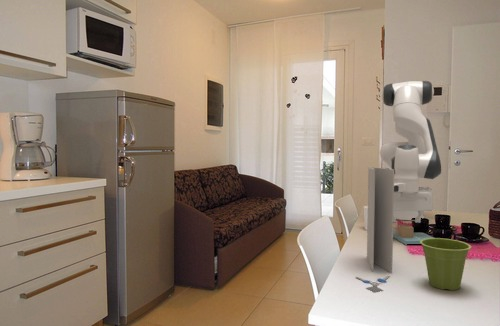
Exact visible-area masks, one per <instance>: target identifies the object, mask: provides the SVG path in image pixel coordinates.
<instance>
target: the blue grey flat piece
mask: <svg viewBox="0 0 500 326" xmlns="http://www.w3.org/2000/svg"><path fill="white" fill-rule="evenodd" d="M389 278H391V276H390V275H387V276H385V277H384V278H377V281H371V280H368V279H365V278H362V277H359V276H355V279H358V280H360V281H362V282H363V283H364V284H370V285H372V286H370V287H369V286H368V287H365V289H366V290H368V291H369V290H370V292H371V291H372V292H371V293H373V294H374V293H375V294H376V293H380V291H381V292H384V289H381V288H379V287H378V286H380V285H381V284H387V282H388V281H387V280H388V279H389Z"/></svg>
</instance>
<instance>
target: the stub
mask: <svg viewBox="0 0 500 326" xmlns="http://www.w3.org/2000/svg"><path fill="white" fill-rule="evenodd" d="M413 233H414V227H413V226H411V225H410V224H397V231H393V239H395V240H397V241H399V242H400V243H402V244H404V245H405V246H408V245H407V244H421V243H420V241H421V240H419V239H417V238H416V237H414V236H413Z"/></svg>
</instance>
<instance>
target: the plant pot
mask: <svg viewBox="0 0 500 326" xmlns="http://www.w3.org/2000/svg"><path fill="white" fill-rule="evenodd" d="M420 243H421V244H422V245H421V246H422V251H423V254H424V259H425V265H426V271H427V279H428V282H429V284H430V286H432V287H434V288H437V289H439V290H449V291H455V290H459V289H460V288H461V284H462V280H463V274H464V269H465V265H466V259H467V257H468V254H469V251H470V250H471V249H472V245H470V244H469V243H467V242H465V241H460V240H457V239H456V240H455V239H450V238H441V237H433V238H428V239H423V240H421V241H420Z"/></svg>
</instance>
